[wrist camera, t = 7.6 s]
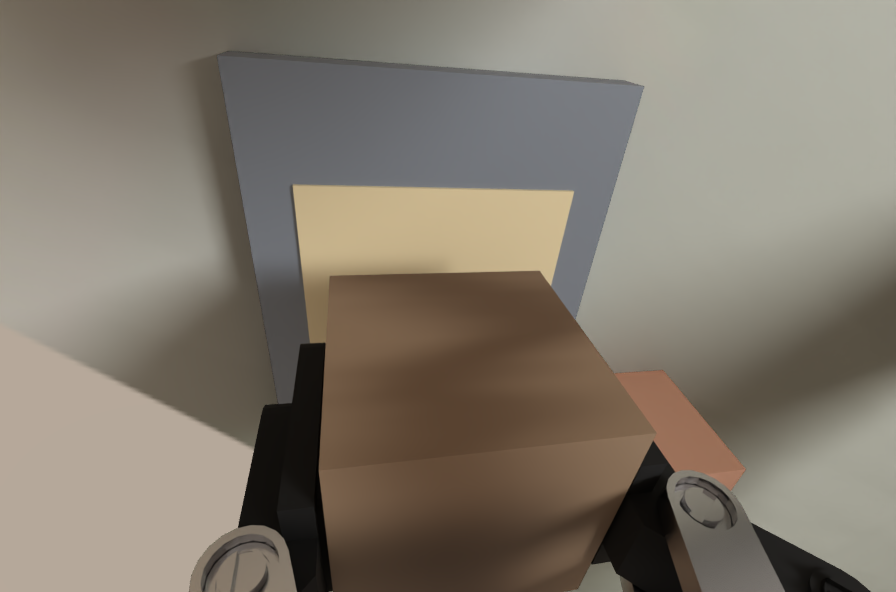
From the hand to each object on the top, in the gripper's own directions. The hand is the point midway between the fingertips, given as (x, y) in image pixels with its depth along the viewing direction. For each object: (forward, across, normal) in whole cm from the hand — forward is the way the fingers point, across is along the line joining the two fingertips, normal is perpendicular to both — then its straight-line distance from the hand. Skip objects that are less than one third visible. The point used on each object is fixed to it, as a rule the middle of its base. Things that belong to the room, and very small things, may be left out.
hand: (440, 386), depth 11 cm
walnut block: (+1, 0, 0) cm, 1 cm away
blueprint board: (+5, 0, 0) cm, 5 cm away
